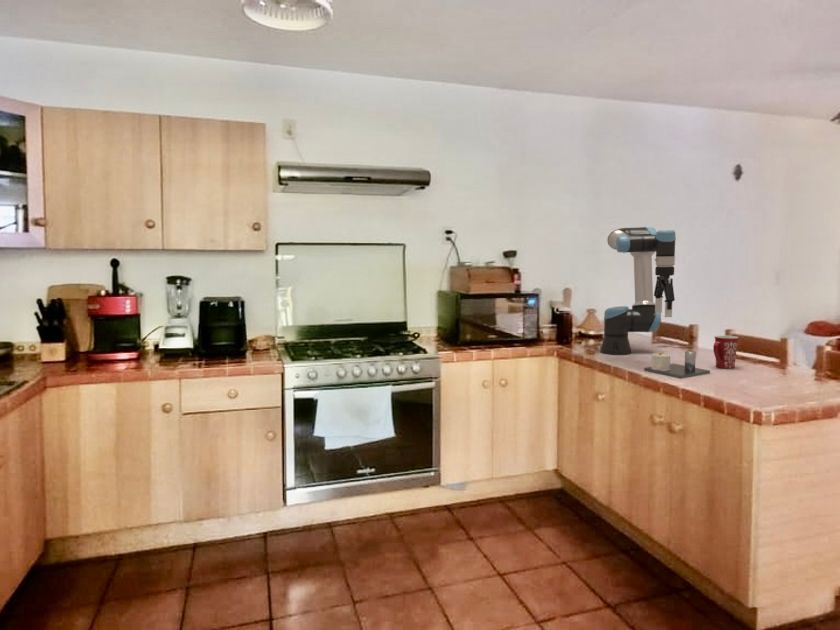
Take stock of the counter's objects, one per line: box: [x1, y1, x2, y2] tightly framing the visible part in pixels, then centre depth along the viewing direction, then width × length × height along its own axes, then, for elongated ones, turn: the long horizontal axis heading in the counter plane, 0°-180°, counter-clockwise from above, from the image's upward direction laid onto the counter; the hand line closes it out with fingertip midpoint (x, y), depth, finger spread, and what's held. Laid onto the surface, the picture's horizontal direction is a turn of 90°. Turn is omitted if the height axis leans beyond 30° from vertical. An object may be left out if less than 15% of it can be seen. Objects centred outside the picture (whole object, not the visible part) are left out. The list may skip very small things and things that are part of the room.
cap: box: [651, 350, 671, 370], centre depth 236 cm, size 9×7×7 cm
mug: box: [712, 334, 739, 369], centre depth 242 cm, size 13×9×14 cm
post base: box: [644, 350, 711, 379], centre depth 235 cm, size 18×18×9 cm
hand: (663, 314), depth 243 cm, fingers open, 13 cm apart
